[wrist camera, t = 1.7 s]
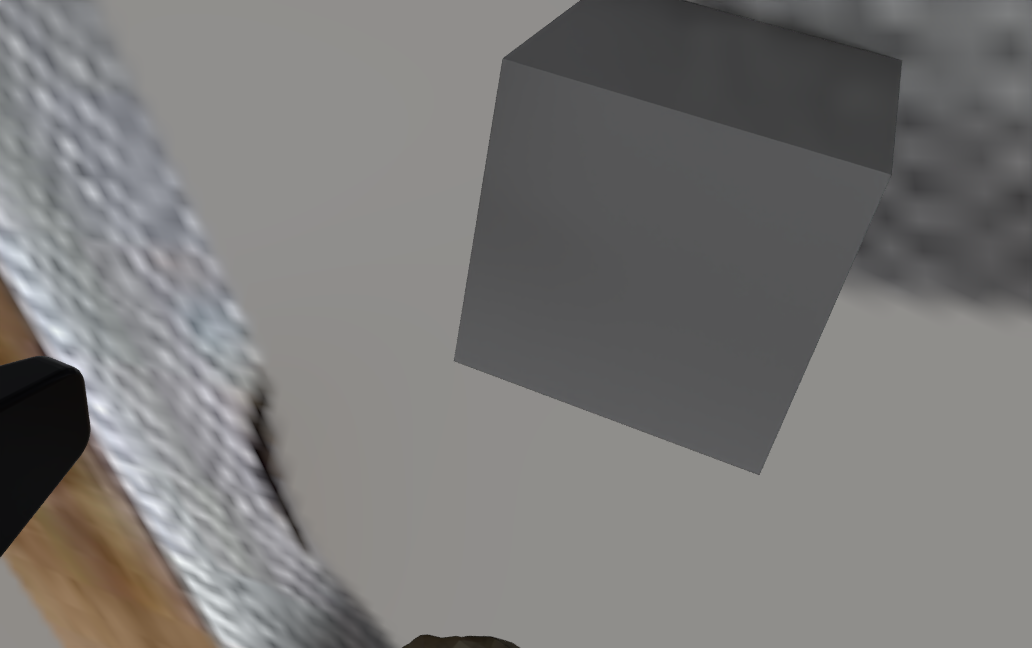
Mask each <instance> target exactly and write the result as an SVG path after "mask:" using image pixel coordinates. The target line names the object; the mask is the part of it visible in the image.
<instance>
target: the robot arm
mask: <svg viewBox="0 0 1032 648" xmlns="http://www.w3.org/2000/svg"><path fill="white" fill-rule="evenodd" d="M89 437H90V420H89V412H88V405H87V397H86V389H85V382H84V378H83V376H82V374H81V373H80V371H79V370H78V369H76V368H75V367H72V366H70V365H68V364H65V363H63V362H60V361H58V360H55V359H53V358H50V357H46V356H36V357H31V358H27V359H24V360H20V361H16V362H12V363H9V364H5V365H1V366H0V557H1V556H2V555H3V553H4V552H5V551H6V550H7V548H8V547H9V546H10V545H11V543H12V542H13V541H14V539H15V538H16V537H17V536H18V534H19V533H20V532H21V531H22V529H23V528H24V527H25V526H26V524H27V523H28V522H29V520H30V519H31V518H32V517H33V515H34V514H35V513H36V512H37V510H38V509H39V508H40V506H41V505H42V504H43V503H44V501H45V500H46V499H47V498H48V496H49V495H50V494H51V493H52V491H53V490H54V489H55V487H56V486H57V485H58V484H59V482H60V481H61V480H62V479H63V477H64V476H65V475H66V474H67V472H68V471H69V470H70V468H71V467H72V466H73V465H74V463H75V462H76V461H77V460H78V458H79V457H80V456H81V454H82V453H83V451H84V449H85V448H86V446H87V443H88V440H89Z"/></svg>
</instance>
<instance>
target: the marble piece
mask: <svg viewBox="0 0 1032 648" xmlns="http://www.w3.org/2000/svg"><path fill="white" fill-rule="evenodd" d="M402 648H520V647H518V646H517V645H515V644H514V643H512V642H509V641H506V640H503V639H499V638H496V637H492V636H465V637H459V636H453V637H445V638H440V637H436V636H431V635H420V636H419V637H417V638H415V639H414V640H413V641H412V642H411V643H409V644H407V645H406V646H404V647H402Z"/></svg>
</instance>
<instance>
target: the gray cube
mask: <svg viewBox="0 0 1032 648" xmlns="http://www.w3.org/2000/svg"><path fill="white" fill-rule="evenodd" d="M901 66H902V61H901V60H898V59H894V58H890V57H887V56H883V55H879V54H876V53H872V52H868V51H865V50H861V49H857V48H854V47H850V46H847V45H843V44H839V43H836V42H832V41H828V40H825V39H821V38H817V37H814V36H810V35H806V34H803V33H799V32H795V31H792V30H788V29H784V28H781V27H777V26H773V25H770V24H766V23H763V22H759V21H755V20H752V19H748V18H744V17H741V16H737V15H733V14H730V13H726V12H722V11H719V10H715V9H711V8H708V7H704V6H700V5H697V4H693V3H689V2H686V1H682V0H580V1H579V2H577V3H576V4H575V5H574V6H572V7H571V8H569V9H568V10H567V11H566V12H564V13H563V14H561V15H560V16H559V17H557V18H556V19H555V20H553V21H552V22H551V23H549V24H548V25H547V26H545V27H544V28H543V29H541V30H540V31H539V32H537V33H536V34H535V35H533V36H532V37H531V38H529V39H528V40H527V41H525V42H524V43H523V44H522V45H520V46H519V47H517V48H516V49H515V50H514V51H512V52H511V53H509V54H508V55H507V56H505V57H504V58H503V60H502V66H501V72H500V79H499V85H498V91H497V97H496V103H495V109H494V115H493V122H492V128H491V134H490V140H489V146H488V154H487V159H486V165H485V171H484V177H483V184H482V190H481V196H480V203H479V209H478V215H477V221H476V227H475V234H474V239H473V246H472V252H471V258H470V264H469V270H468V277H467V283H466V289H465V295H464V302H463V308H462V314H461V320H460V326H459V333H458V339H457V345H456V352H455V357H454V361H455V362H458V363H461V364H463V365H466V366H468V367H471V368H474V369H476V370H479V371H482V372H484V373H487V374H490V375H493V376H495V377H498V378H500V379H503V380H506V381H509V382H511V383H514V384H517V385H519V386H522V387H525V388H527V389H530V390H533V391H535V392H538V393H541V394H543V395H546V396H549V397H551V398H554V399H557V400H559V401H562V402H565V403H568V404H570V405H573V406H576V407H578V408H581V409H583V410H586V411H589V412H592V413H595V414H597V415H600V416H603V417H605V418H608V419H611V420H613V421H616V422H619V423H621V424H624V425H626V426H629V427H632V428H635V429H637V430H640V431H642V432H645V433H648V434H651V435H653V436H656V437H658V438H661V439H664V440H666V441H669V442H672V443H675V444H677V445H680V446H683V447H685V448H688V449H691V450H693V451H696V452H699V453H701V454H704V455H707V456H709V457H712V458H715V459H718V460H720V461H723V462H725V463H728V464H731V465H733V466H736V467H739V468H741V469H744V470H747V471H749V472H752V473H755V474H758V475H760V473H761V470H762V468H763V466H764V464H765V461H766V459H767V457H768V454H769V452H770V450H771V448H772V445H773V443H774V441H775V439H776V436H777V434H778V431H779V429H780V427H781V425H782V423H783V420H784V418H785V416H786V414H787V411H788V409H789V407H790V404H791V402H792V400H793V397H794V395H795V393H796V391H797V389H798V386H799V384H800V382H801V380H802V377H803V375H804V373H805V370H806V368H807V366H808V363H809V361H810V359H811V357H812V355H813V352H814V350H815V348H816V345H817V343H818V341H819V339H820V336H821V334H822V332H823V330H824V327H825V325H826V323H827V320H828V318H829V316H830V314H831V311H832V309H833V307H834V305H835V302H836V300H837V298H838V295H839V293H840V291H841V289H842V286H843V284H844V282H845V280H846V277H847V275H848V273H849V270H850V268H851V266H852V264H853V261H854V259H855V257H856V255H857V252H858V250H859V248H860V246H861V243H862V241H863V239H864V236H865V234H866V232H867V230H868V227H869V225H870V223H871V221H872V218H873V216H874V214H875V211H876V209H877V207H878V205H879V202H880V200H881V198H882V196H883V193H884V191H885V189H886V186H887V184H888V182H889V180H890V177H891V175H892V165H893V154H894V143H895V132H896V121H897V110H898V99H899V88H900V77H901Z"/></svg>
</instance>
